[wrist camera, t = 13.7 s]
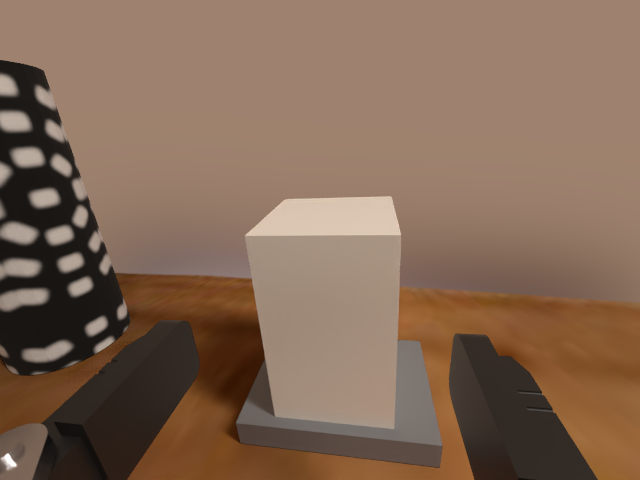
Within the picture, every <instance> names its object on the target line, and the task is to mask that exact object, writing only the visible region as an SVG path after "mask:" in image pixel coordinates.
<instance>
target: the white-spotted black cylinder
mask: <svg viewBox="0 0 640 480" xmlns="http://www.w3.org/2000/svg"><path fill="white" fill-rule="evenodd" d="M129 323H130V315H129V312H128V310H127V307H126V304H125V301H124V298H123V295H122V292H121V290H120V287H119V284H118V281H117V278H116V275H115V273H114V270H113V267H112V264H111V261H110V258H109V256H108V253H107V250H106V247H105V244H104V242H103V238H102V236H101V233H100V230H99V227H98V225H97V222H96V219H95V216H94V213H93V210H92V207H91V204H90V201H89V199H88V196H87V193H86V190H85V187H84V184H83V182H82V179H81V176H80V173H79V170H78V167H77V165H76V162H75V159H74V156H73V153H72V150H71V148H70V145H69V142H68V139H67V136H66V133H65V131H64V128H63V125H62V122H61V119H60V116H59V113H58V110H57V108H56V105H55V102H54V99H53V96H52V93H51V90H50V88H49V85H48V82H47V79H46V76H45V73H44V71H43V70H41V69H39V68H36V67H33V66H29V65H25V64H20V63H15V62H9V61H3V60H0V357H1V358H2V360H3V362H4V364H5V365H6V367H7V369H8V370H9V371H11V372H12V373H15V374H18V375H35V374H43V373H47V372H51V371H55V370H58V369H62V368H65V367H68V366H70V365H73V364H75V363H78V362H80V361H82V360H84V359H86V358H88V357H90V356H92V355H94V354H96V353H98V352H99V351H101V350H103V349H104V348H106V347H107V346H109V345H110V344H111V343H113V342H114V341H115V340H117V339H118V338H119V337H120V336H121V335H122V334H123V333H124V331H125V330H126V329H127V328H128V326H129Z"/></svg>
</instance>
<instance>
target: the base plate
mask: <svg viewBox="0 0 640 480" xmlns="http://www.w3.org/2000/svg"><path fill="white" fill-rule="evenodd" d="M236 426H237V431H238V435H239V439H240V443H243V444H251V445H259V446H267V447H276V448H284V449H292V450H300V451H308V452H317V453H325V454H333V455H341V456H349V457H357V458H366V459H374V460H382V461H390V462H398V463H406V464H415V465H423V466H431V467H439V468H440V462H441V454H442V441H441V437H440V432H439V428H438V423H437V418H436V414H435V409H434V405H433V400H432V395H431V391H430V386H429V382H428V377H427V372H426V368H425V363H424V359H423V354H422V349H421V345H420V341H407V340H397V367H396V395H395V423H394V429H388V428H378V427H369V426H359V425H349V424H340V423H330V422H321V421H311V420H301V419H292V418H282V417H275V414H274V408H273V402H272V396H271V390H270V384H269V378H268V372H267V366H266V360H265V359H264V361H263V364H262V366H261V368H260V370H259V372H258V375H257V377H256V379H255V381H254V384H253V386H252V388H251V390H250V392H249V395H248V397H247V399H246V401H245V404H244V406H243V408H242V410H241V413H240V415H239V417H238V419H237V421H236Z"/></svg>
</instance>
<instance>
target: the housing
mask: <svg viewBox="0 0 640 480" xmlns="http://www.w3.org/2000/svg"><path fill="white" fill-rule="evenodd" d="M245 240H246V246H247V252H248V257H249V264H250V270H251V276H252V282H253V288H254V294H255V300H256V306H257V312H258V318H259V324H260V330H261V336H262V342H263V348H264V354H265V360H266V366H267V372H268V378H269V384H270V390H271V396H272V402H273V408H274V414H275V417H282V418H292V419H301V420H311V421H321V422H330V423H340V424H349V425H359V426H369V427H378V428H388V429H394V423H395V395H396V367H397V339H398V310H399V282H400V281H399V280H400V254H401V232H400V229H399V225H398V221H397V217H396V213H395V209H394V205H393V201H392V197H391V196H390V197H352V198H317V199H316V198H315V199H285V200H284V201H283V202H282V203H281V204H279V205H278V206H277V207H276V208H275V209H274V210H273V211H272V212H271V213H269V214H268V215H267V216H266V217H265V218H264V219H263V220H262V221H261V222H260V223H258V224H257V225H256V226H255V227H254V228H253V229H252V230H251V231H250V232H248V233H247V234H246V235H245Z"/></svg>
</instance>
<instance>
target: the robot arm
mask: <svg viewBox="0 0 640 480" xmlns="http://www.w3.org/2000/svg"><path fill="white" fill-rule="evenodd" d="M199 364H200V361H199V356H198V352H197V348H196V344H195V341H194V337H193V333H192V329H191V326H190V324H189V323H188V322H187V321H178V320H162V321H160V322H158V323H157V324H156V325H155V326H154V327H153V328H152V329H151V330H150V331H149V332H148V333H147V334H145V335H144V336H142V337H141V338H139V339H137V340H136V341H134V342H132V343H131V344H129V345H128V346H126V347H125V348H124V349H123V350H122V351H120V352H119V353H118V354H117V355H116V356H115V357H114V358H113V359H112V360H111V363H107V364H106V365H105V366H104V367H103V368H102V369H101V370H100V371H99V374H95V375H94V376H93V377H92V378H91V379H90V380H89V381H88V382H87V383H86V384H85V385H83V386H82V387H81V388H80V389H79V390H78V391H77V392H76V393H75V394H74V395H73V396H71V397H70V398H69V399H68V400H67V401H66V402H65V403H64V404H63V405H62V406H61V407H59V408H58V409H57V410H56V411H55V412H54V413H53V414H52V415H51V416H50V417H49V418H47V419H46V420H45V421H44V422H43V423H42V424H38V423H33V424H27V425H23V426H20V427H17V428H14V429H12V430H9V431H7V432H5V433H3V434H1V435H0V480H127V478H128V477H129V475H130V474H131V473H132V471H133V470H134V468H135V467H136V465H137V464H138V462H139V461H140V459H141V458H142V456H143V455H144V453H145V452H146V451H147V449H148V448H149V446H150V445H151V443H152V442H153V440H154V439H155V437H156V436H157V434H158V433H159V431H160V430H161V429H162V427H163V426H164V424H165V423H166V421H167V420H168V418H169V417H170V415H171V414H172V412H173V411H174V409H175V408H176V407H177V405H178V404H179V402H180V401H181V399H182V398H183V396H184V395H185V393H186V392H187V390H188V389H189V387H190V386H191V385H192V383H193V382H194V380H195V378H196V376H197V374H198V371H199ZM449 388H450V396H451V400H452V404H453V407H454V411H455V414H456V418H457V421H458V425H459V428H460V431H461V435H462V438H463V442H464V445H465V449H466V452H467V455H468V459H469V462H470V466H471V469H472V473H473V476H474V479H475V480H598V479H597V478H596V476H595V475H594V473H593V471H592V470H591V468H590V467H589V465H588V464H587V462H586V460H585V459H584V457H583V456H582V454H581V453H580V451H579V449H578V448H577V446H576V445H575V443H574V442H573V440H572V438H571V437H570V435H569V434H568V432H567V431H566V429H565V427H564V426H563V424H562V423H561V421H560V420H559V418H558V416H557V415H556V413H553V409H552V407H551V405H550V404H549V402H548V401H547V399H546V398H545V396H543V395H542V391H541V390H540V388H539V387H538V385H537V383H536V382H535V380H534V379H533V377H532V376H531V374H530V373H529V372H528V371H527V370H526V369H525V368H524V367H522V366H521V365H520V364H519V363H518V362H517V361H515V360H514V359H513V358H512V357H511V356H498V354H497V352H496V351H495V349H494V347H493V345H492V343H491V341H490V340H489V338H488V337H487V336H486V335H478V334H455V335H454V339H453V347H452V356H451V364H450V373H449Z"/></svg>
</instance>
